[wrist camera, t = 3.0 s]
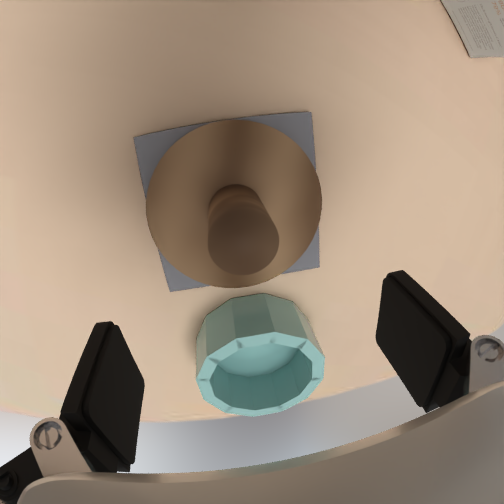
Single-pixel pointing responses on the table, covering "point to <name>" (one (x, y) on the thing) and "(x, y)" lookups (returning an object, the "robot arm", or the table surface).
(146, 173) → the mat
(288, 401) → the bowl
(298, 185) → the lid
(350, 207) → the table surface
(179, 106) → the table surface
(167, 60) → the table surface
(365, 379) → the table surface
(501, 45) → the small box
